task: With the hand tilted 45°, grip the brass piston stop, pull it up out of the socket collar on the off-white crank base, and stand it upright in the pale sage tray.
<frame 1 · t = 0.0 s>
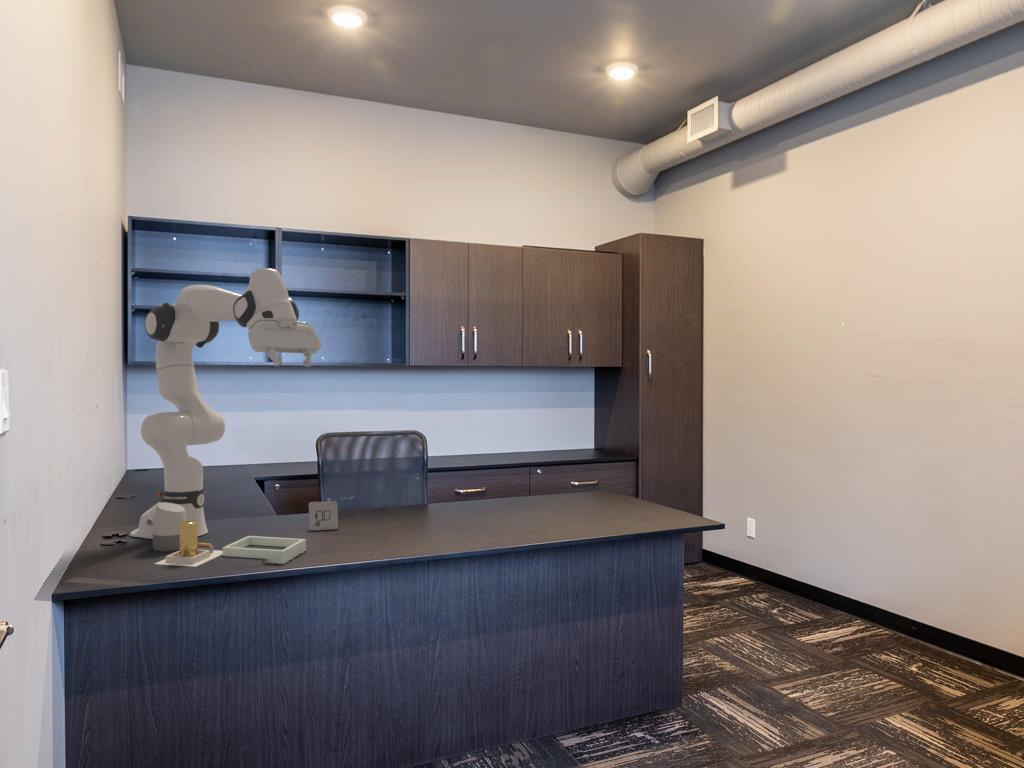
hand: (293, 365, 190), 54 cm above the table, tool tilted 30°, fingers open, 8 cm apart
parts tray: (265, 555, 202), on the table
piston stop: (188, 559, 193), point 1 cm above the table, touching crank base
crank base: (192, 561, 195), on the table
smart speaker: (170, 552, 204), on the table
electrical switch: (322, 529, 237), on the table
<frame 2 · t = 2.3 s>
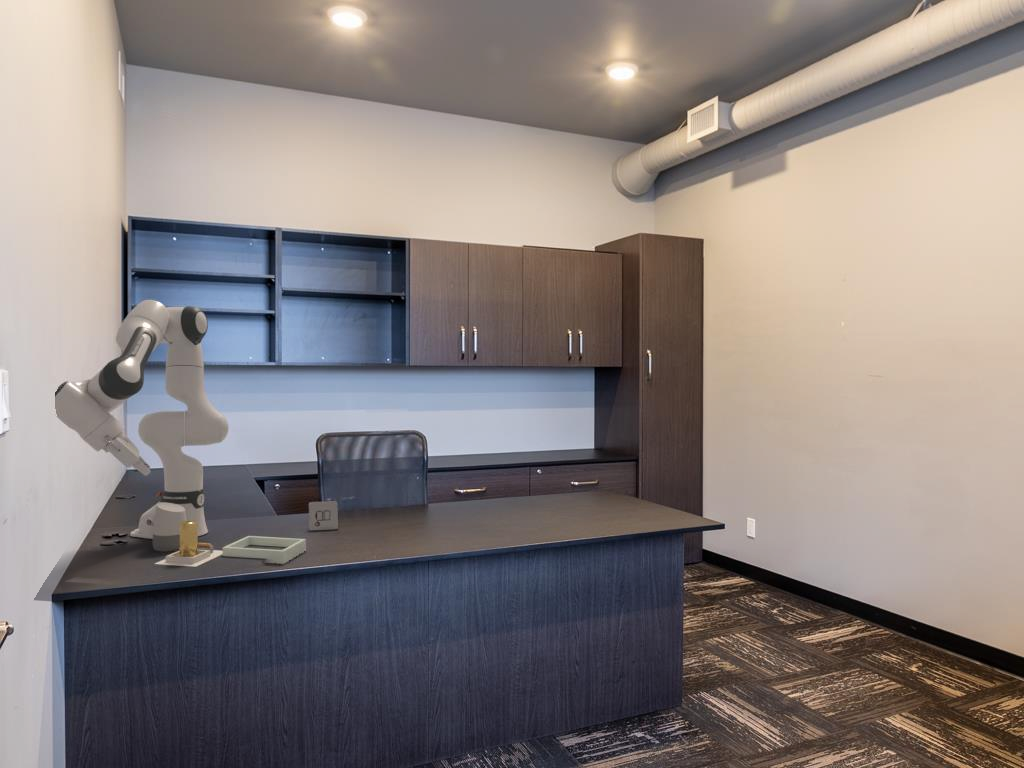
hand: (148, 471, 187), 26 cm above the table, tool tilted 45°, fingers open, 8 cm apart
nothing on the table moved.
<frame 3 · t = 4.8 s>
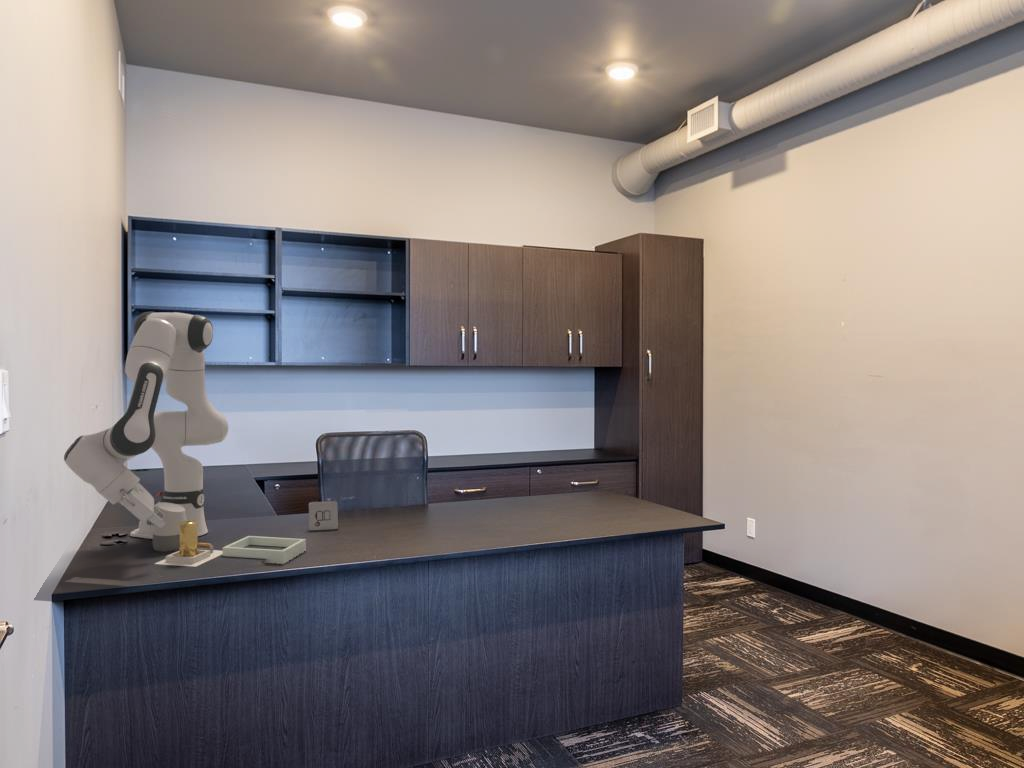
hand: (163, 521, 189), 12 cm above the table, tool tilted 45°, fingers open, 8 cm apart
nothing on the table moved.
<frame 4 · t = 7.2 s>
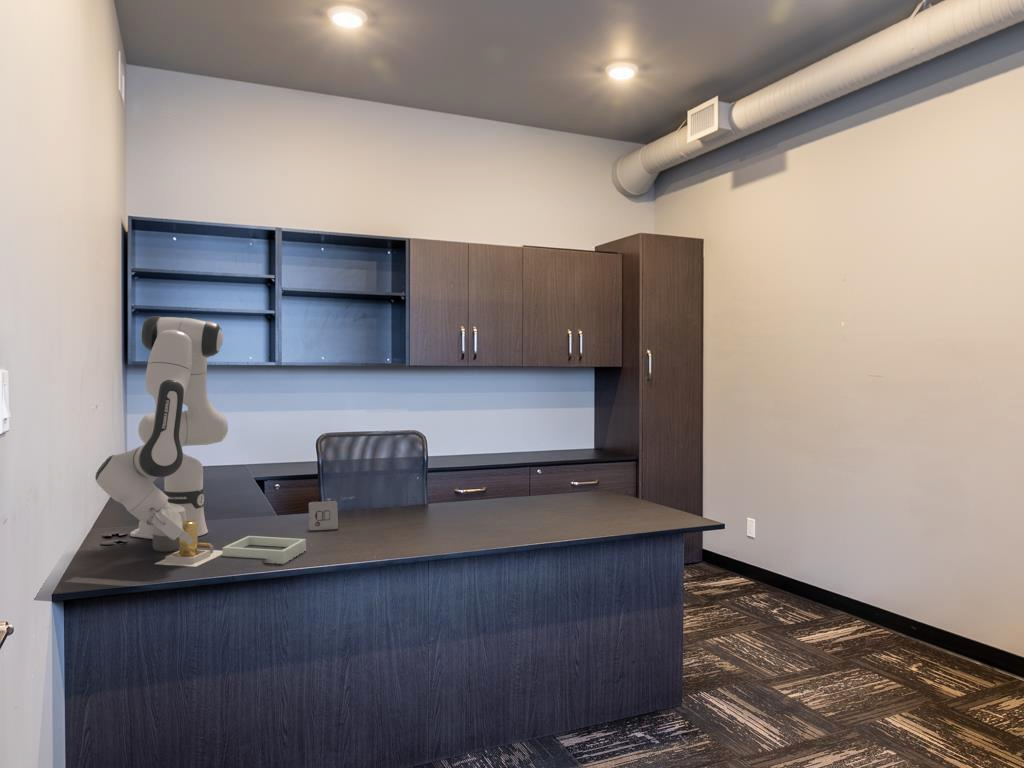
hand: (191, 539, 193), 7 cm above the table, tool tilted 45°, fingers closed on piston stop, 4 cm apart
piston stop: (188, 559, 193), point 1 cm above the table, touching crank base, gripper
everything else where it was.
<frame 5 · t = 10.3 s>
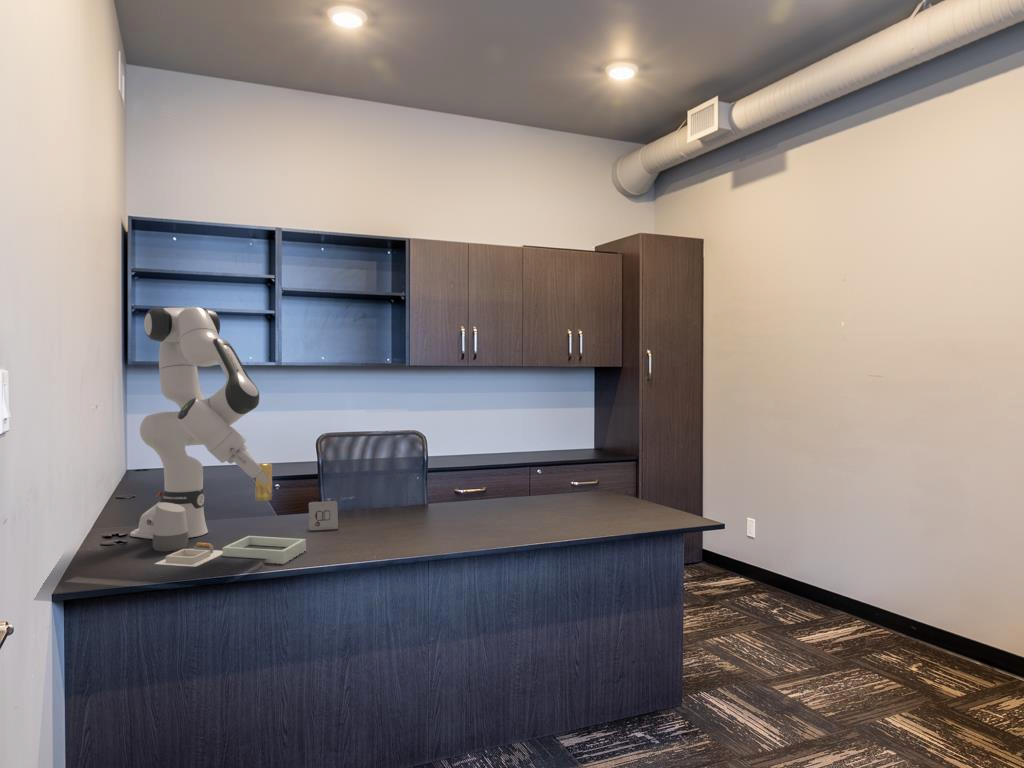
hand: (266, 480, 202), 21 cm above the table, tool tilted 45°, fingers closed on piston stop, 4 cm apart
piston stop: (263, 499, 201), point 16 cm above the table, touching gripper
everything else where it was.
when the fingers open (8 cm above the table, at t = 13.4 s): piston stop drops 1 cm, resting on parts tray.
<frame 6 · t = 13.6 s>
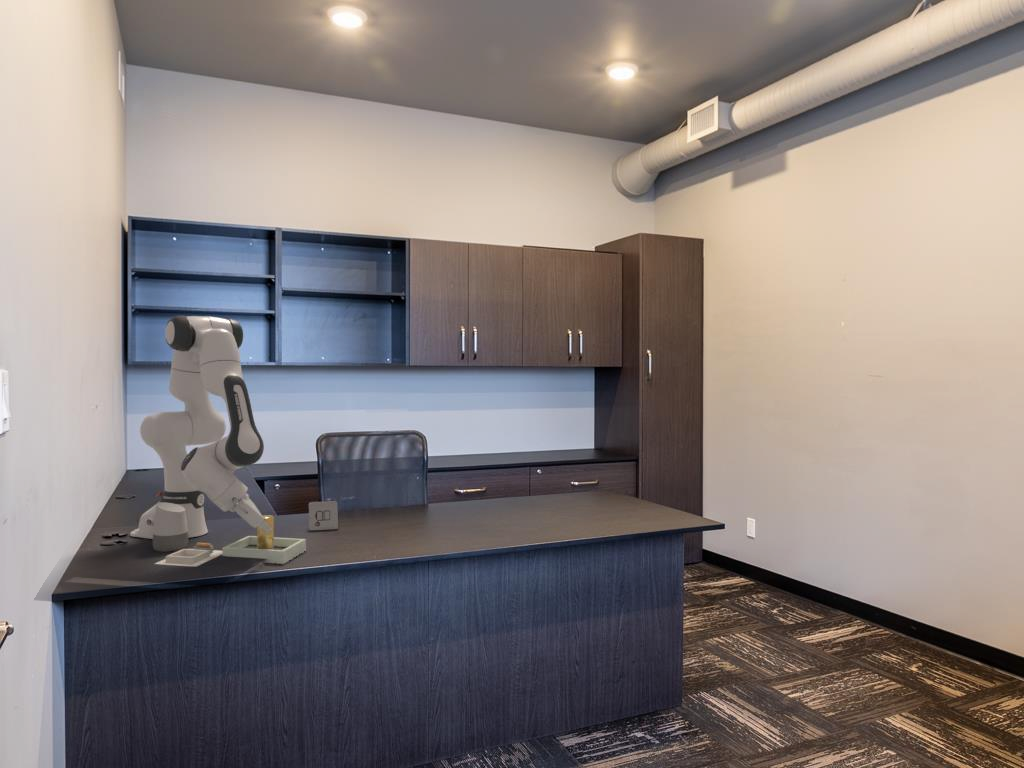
hand: (267, 527, 202), 8 cm above the table, tool tilted 45°, fingers open, 6 cm apart
piston stop: (265, 551, 202), point 1 cm above the table, touching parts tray
everything else where it was.
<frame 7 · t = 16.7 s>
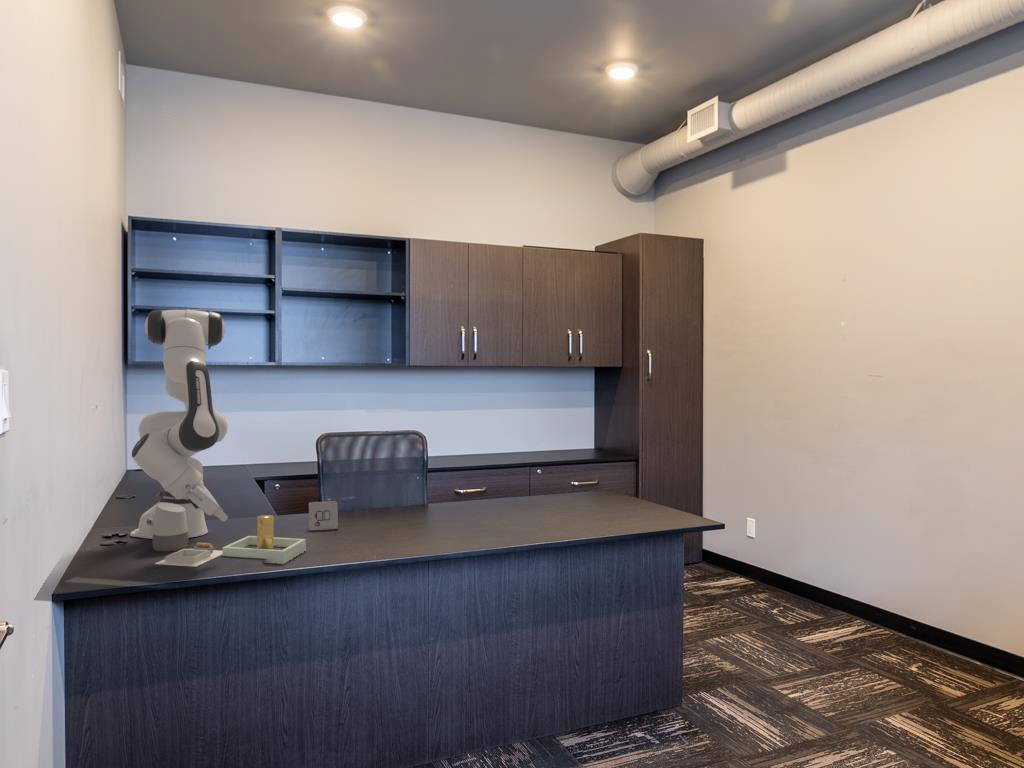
hand: (223, 515, 197), 12 cm above the table, tool tilted 45°, fingers open, 8 cm apart
nothing on the table moved.
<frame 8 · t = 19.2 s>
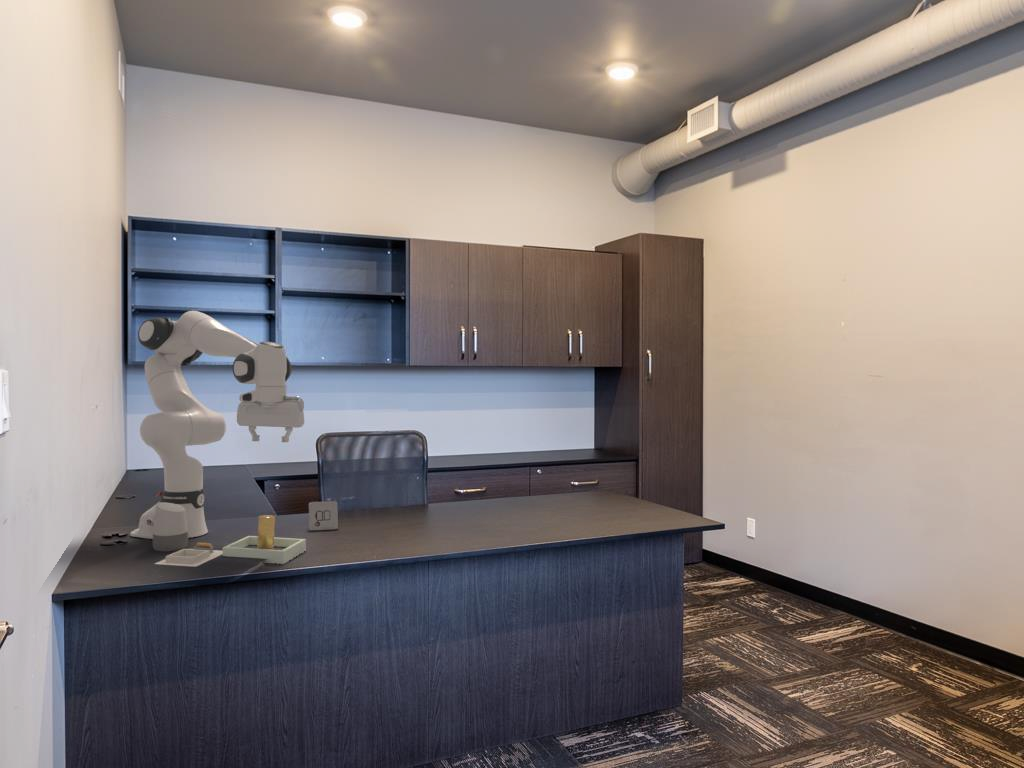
hand: (270, 441, 214), 31 cm above the table, tool pointing down, fingers open, 8 cm apart
nothing on the table moved.
at the end: piston stop inside the target area on the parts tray (0.1 cm from its centre), point 1.1 cm above the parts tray's base; piston stop tilted 2°; the gripper is holding nothing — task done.
